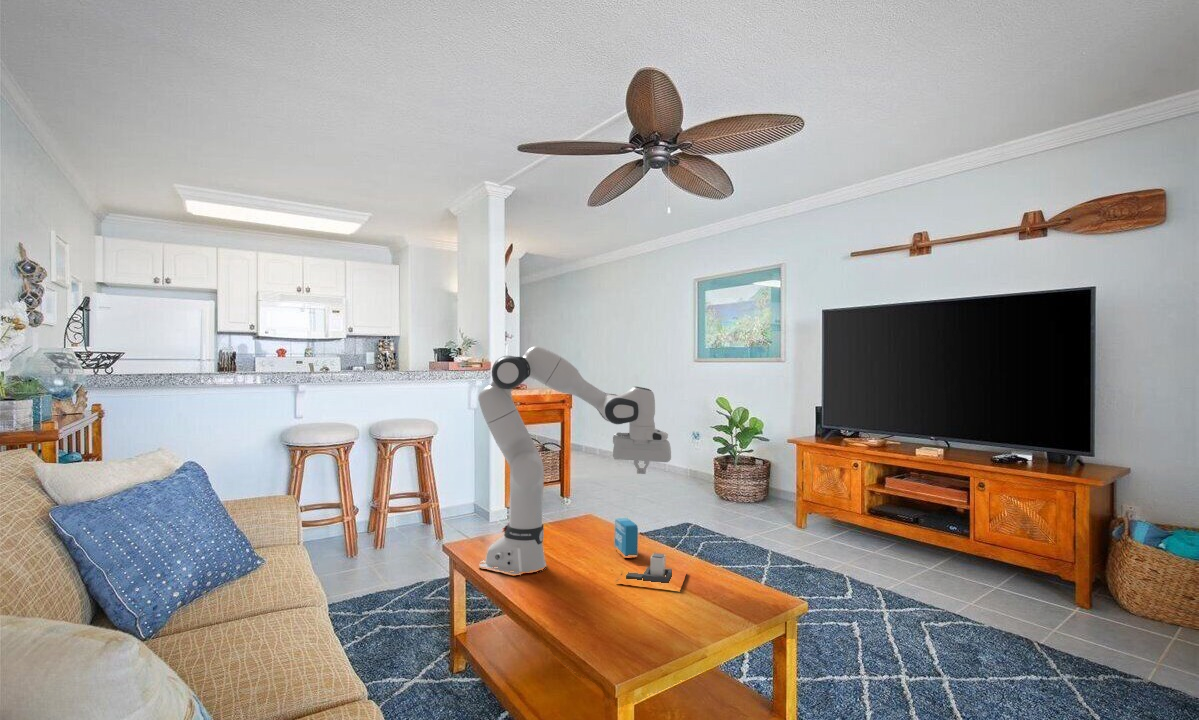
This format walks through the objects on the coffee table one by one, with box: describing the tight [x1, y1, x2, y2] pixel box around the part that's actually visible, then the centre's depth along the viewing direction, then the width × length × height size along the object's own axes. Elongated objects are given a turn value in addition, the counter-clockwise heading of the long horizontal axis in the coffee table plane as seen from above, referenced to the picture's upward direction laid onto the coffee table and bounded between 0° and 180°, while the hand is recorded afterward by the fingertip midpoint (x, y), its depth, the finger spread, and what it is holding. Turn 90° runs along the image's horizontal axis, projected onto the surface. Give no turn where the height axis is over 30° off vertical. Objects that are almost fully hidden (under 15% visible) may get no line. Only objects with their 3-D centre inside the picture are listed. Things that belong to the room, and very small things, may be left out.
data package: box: [614, 517, 639, 556], centre depth 209 cm, size 12×4×12 cm, turn 18°
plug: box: [649, 552, 666, 576], centre depth 183 cm, size 4×4×7 cm
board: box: [615, 567, 673, 583], centre depth 185 cm, size 20×16×3 cm
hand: (641, 473), depth 200 cm, fingers closed
